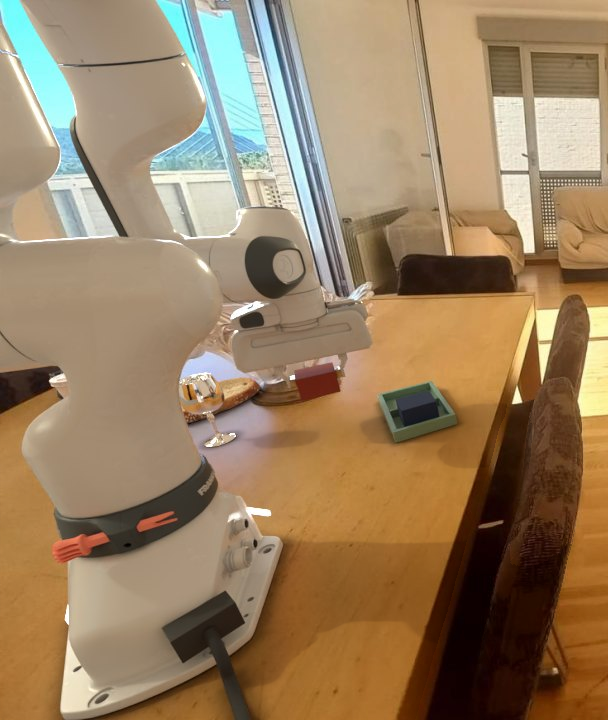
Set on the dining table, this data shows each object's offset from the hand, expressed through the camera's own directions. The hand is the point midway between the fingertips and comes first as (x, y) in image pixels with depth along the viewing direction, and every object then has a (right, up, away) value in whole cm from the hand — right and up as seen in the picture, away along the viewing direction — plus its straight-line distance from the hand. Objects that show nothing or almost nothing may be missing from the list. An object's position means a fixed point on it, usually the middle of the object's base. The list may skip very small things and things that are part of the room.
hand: (317, 381), depth 85 cm
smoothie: (-48, -8, +8) cm, 49 cm away
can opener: (-63, -4, +18) cm, 66 cm away
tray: (+15, -6, +6) cm, 17 cm away
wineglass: (-17, -10, -1) cm, 20 cm away
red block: (0, -2, +1) cm, 2 cm away
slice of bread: (-31, -6, +11) cm, 33 cm away
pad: (+17, -7, +3) cm, 19 cm away
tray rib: (+15, -6, +6) cm, 17 cm away
